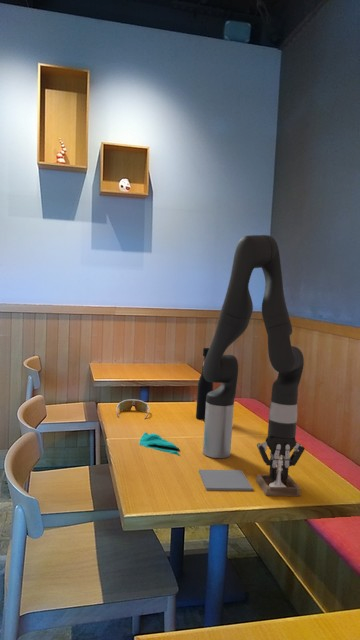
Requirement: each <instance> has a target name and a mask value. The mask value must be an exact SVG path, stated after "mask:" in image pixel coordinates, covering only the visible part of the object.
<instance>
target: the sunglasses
mask: <svg viewBox="0 0 360 640" xmlns="http://www.w3.org/2000/svg"><path fill="white" fill-rule="evenodd" d="M133 407H134V409H135V411H140V412H144V413H147V414H146V416H145V417H144V418H143V420H146V419H147V417H148V415H149V414H150V406H149V404H148V403H147V402H145V401H143V400H140V399H124V400H122V401H120V402H119V403H118V404H117V406H116V408H115V409H116V410H115V413H116V415H117V417H118V418H119V419H121V417H120V415H119V413H118V411H119V412H122V411H123V410H124V411H131V410H132V408H133Z"/></svg>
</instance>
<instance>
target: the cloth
mask: <svg viewBox="0 0 360 640" xmlns="http://www.w3.org/2000/svg"><path fill="white" fill-rule="evenodd" d="M138 445H139V446H143V447H144V448H148V449H151V450H155V451H160V452H163V453H169V454H172V455H177V456H180V457H181V454H180V453H179V451H181V450H180V447H178V446H176V445H175V444H174V443H173V442H169V441H168V440H166V439H163V438H162V436H160V435H159V434H157V433H152V432H151V433H150V434H148V433H147V432H144V433H143V434H142V435H141V438H140V439H139V443H138ZM168 448H170V449H168ZM176 450H178V451H176Z"/></svg>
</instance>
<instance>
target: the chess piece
mask: <svg viewBox="0 0 360 640" xmlns="http://www.w3.org/2000/svg"><path fill="white" fill-rule="evenodd" d="M282 465H283V460H282V455H279V458H278V460H277V466H276V468H277V475H276V481H274V482H273V483H268V484H269V485H268V486H269V487H287V486H286V485H285V483H282V482H281V471H282V470H283V468H281V466H282Z"/></svg>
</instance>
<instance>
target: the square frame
mask: <svg viewBox="0 0 360 640" xmlns="http://www.w3.org/2000/svg"><path fill="white" fill-rule="evenodd" d="M255 480H256V483H257V485H258V486H259V487H260V489H261V490H262V492H263V493H264V495H265V497H301V495H302V493H301V492H302V488H301V487H300V486H299V485H298V484H297V482H295V480H294V479H293V478H292V477H291V475H289V474H288V478H287V479H286V481H282V479H281V482H282V484H286V485H287V486H286V487H269V485H268V484H270V483H273V482H274V481H273V480H272V478H271V477H270V475H269V474H256V479H255Z"/></svg>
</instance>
